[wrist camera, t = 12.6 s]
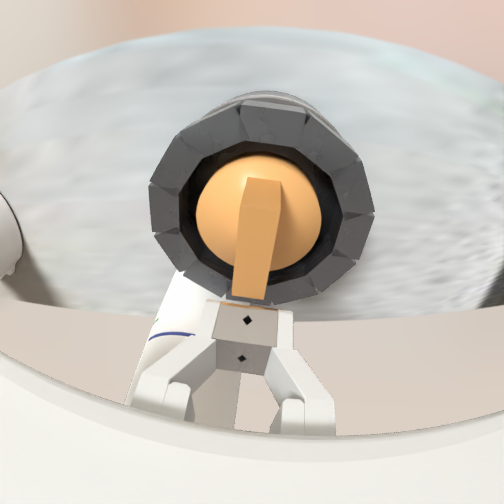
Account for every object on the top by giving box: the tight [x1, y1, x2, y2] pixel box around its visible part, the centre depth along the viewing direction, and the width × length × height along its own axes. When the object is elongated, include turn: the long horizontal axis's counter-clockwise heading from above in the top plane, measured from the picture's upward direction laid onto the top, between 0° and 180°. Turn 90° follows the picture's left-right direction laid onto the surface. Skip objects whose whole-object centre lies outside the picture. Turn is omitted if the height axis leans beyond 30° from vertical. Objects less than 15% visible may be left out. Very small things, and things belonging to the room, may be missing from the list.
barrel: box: [148, 91, 375, 305], centre depth 19 cm, size 12×12×10 cm
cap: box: [196, 151, 321, 300], centre depth 15 cm, size 7×7×5 cm
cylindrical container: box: [124, 270, 251, 429], centre depth 20 cm, size 7×7×25 cm
